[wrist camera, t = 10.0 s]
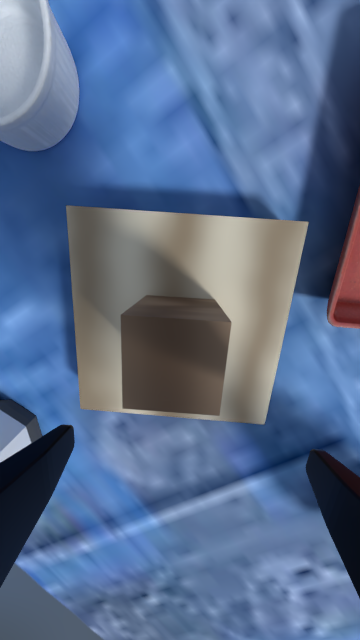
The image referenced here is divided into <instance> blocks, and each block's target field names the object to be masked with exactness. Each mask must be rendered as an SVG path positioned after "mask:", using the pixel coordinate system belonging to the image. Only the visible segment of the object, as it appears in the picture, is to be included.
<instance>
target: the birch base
mask: <svg viewBox="0 0 360 640" xmlns="http://www.w3.org/2000/svg"><path fill="white" fill-rule="evenodd" d="M66 212H67V226H68V240H69V254H70V268H71V282H72V295H73V309H74V323H75V337H76V351H77V365H78V379H79V393H80V407H81V409H88V410H100V411H112V412H123V413H135V414H147V415H158V416H170V417H182V418H193V419H205V420H217V421H228V422H240V423H252V424H263V425H265V420H266V416H267V411H268V407H269V402H270V397H271V393H272V388H273V384H274V379H275V374H276V370H277V365H278V361H279V356H280V352H281V347H282V342H283V338H284V333H285V329H286V324H287V319H288V315H289V310H290V306H291V301H292V296H293V292H294V287H295V283H296V278H297V274H298V269H299V264H300V260H301V255H302V251H303V246H304V241H305V237H306V232H307V228H308V223H309V222H304V221H289V220H274V219H259V218H245V217H230V216H215V215H200V214H185V213H171V212H156V211H141V210H126V209H112V208H97V207H82V206H67V205H66ZM146 295H154V296H169V297H185V298H201V299H215V300H216V302H217V303H218V304H219V306H220V307H221V308H222V310H223V311H224V312H225V314H226V315H227V316H228V318H229V319H230V321H231V322H232V324H231V331H230V339H229V347H228V354H227V362H226V370H225V377H224V385H223V393H222V400H221V408H220V416H214V415H200V414H187V413H174V412H161V411H147V410H134V409H122V360H121V314H122V313H124V312H125V311H126V310H128V309H129V308H130V307H132V306H133V305H134V304H135V303H137V302H138V301H139V300H141V299H142V298H143V297H145V296H146Z"/></svg>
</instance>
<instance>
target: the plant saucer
mask: <svg viewBox="0 0 360 640" xmlns="http://www.w3.org/2000/svg"><path fill="white" fill-rule="evenodd" d="M327 319H328V322H329V323H330V324H331V325H332V326H336V327H345V328H360V185H359V189H358V193H357V196H356V200H355V204H354V208H353V212H352V215H351V219H350V222H349V226H348V230H347V234H346V237H345V241H344V244H343V248H342V252H341V255H340V259H339V263H338V266H337V270H336V274H335V278H334V281H333V285H332V289H331V293H330V296H329V300H328V307H327Z"/></svg>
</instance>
